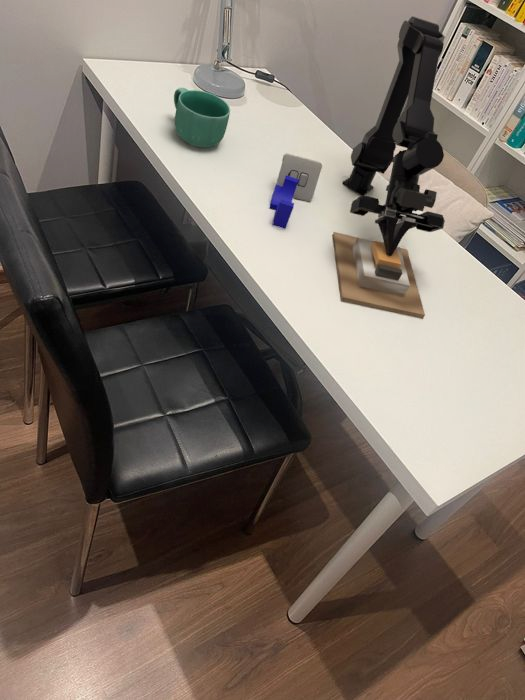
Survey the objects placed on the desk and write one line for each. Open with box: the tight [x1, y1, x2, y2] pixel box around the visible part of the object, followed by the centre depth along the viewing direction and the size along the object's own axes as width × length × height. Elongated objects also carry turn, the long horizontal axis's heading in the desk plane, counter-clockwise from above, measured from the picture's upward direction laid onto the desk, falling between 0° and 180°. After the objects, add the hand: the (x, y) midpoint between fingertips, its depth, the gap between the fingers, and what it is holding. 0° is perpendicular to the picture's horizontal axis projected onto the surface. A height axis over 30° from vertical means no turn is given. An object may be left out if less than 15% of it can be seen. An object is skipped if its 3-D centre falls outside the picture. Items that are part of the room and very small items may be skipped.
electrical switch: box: [273, 152, 323, 202], centre depth 135 cm, size 9×5×9 cm, turn 90°
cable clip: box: [269, 175, 298, 230], centre depth 129 cm, size 12×4×6 cm, turn 173°
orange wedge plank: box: [371, 240, 402, 269], centre depth 120 cm, size 7×5×2 cm
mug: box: [173, 87, 231, 148], centre depth 140 cm, size 17×13×10 cm
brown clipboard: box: [331, 231, 426, 319], centre depth 122 cm, size 22×18×6 cm
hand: (389, 255), depth 118 cm, fingers closed, pressing on orange wedge plank
